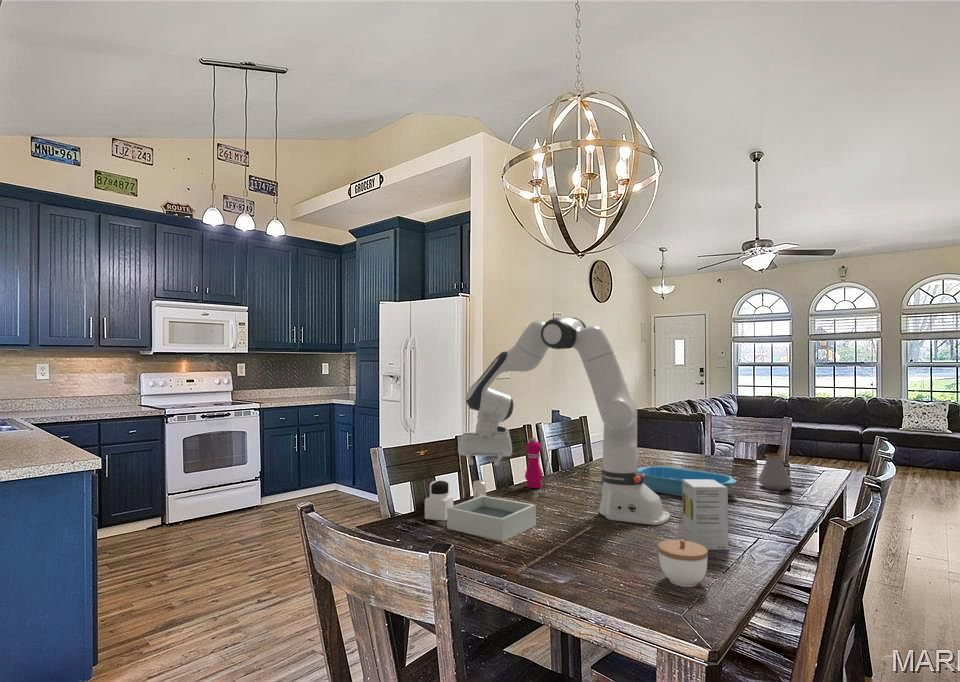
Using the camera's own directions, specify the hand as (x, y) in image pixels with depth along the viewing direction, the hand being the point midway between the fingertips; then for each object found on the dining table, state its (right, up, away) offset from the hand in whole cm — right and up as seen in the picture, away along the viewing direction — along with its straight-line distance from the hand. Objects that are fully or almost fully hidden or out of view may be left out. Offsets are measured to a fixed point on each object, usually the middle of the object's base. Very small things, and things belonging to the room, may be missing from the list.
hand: (483, 464), depth 193 cm
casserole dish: (+78, -14, +12) cm, 80 cm away
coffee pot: (+118, -13, +20) cm, 121 cm away
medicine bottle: (-14, -13, -23) cm, 30 cm away
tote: (+2, -12, -34) cm, 36 cm away
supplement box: (+61, -11, -47) cm, 78 cm away
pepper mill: (+20, -14, +20) cm, 32 cm away
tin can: (-1, -13, -10) cm, 16 cm away
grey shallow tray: (+2, -11, -34) cm, 35 cm away
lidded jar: (+45, -11, -71) cm, 85 cm away
